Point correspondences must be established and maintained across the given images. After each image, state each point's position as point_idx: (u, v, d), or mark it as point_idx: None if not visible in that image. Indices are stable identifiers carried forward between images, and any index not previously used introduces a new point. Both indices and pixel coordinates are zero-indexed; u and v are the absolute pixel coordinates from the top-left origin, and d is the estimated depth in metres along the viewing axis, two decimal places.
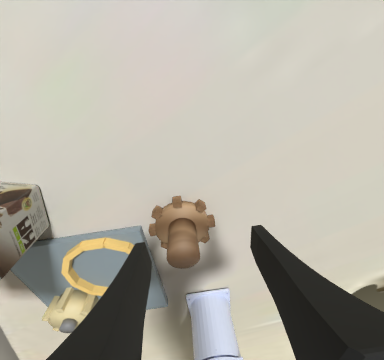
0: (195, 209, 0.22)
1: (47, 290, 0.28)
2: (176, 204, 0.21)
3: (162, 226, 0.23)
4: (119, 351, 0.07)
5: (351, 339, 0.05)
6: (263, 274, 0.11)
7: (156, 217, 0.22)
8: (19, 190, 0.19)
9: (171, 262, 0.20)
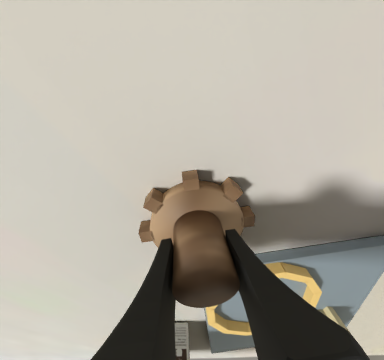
0: (154, 212, 0.12)
1: None
2: (145, 237, 0.13)
3: None
4: (163, 344, 0.07)
5: (293, 348, 0.05)
6: None
7: None
8: None
9: (216, 302, 0.10)
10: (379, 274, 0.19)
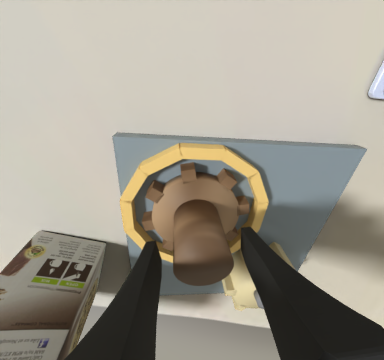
0: (156, 202, 0.13)
1: None
2: (147, 226, 0.14)
3: None
4: (137, 348, 0.07)
5: (328, 343, 0.05)
6: (252, 276, 0.11)
7: (172, 246, 0.16)
8: None
9: (213, 280, 0.11)
10: (335, 200, 0.16)
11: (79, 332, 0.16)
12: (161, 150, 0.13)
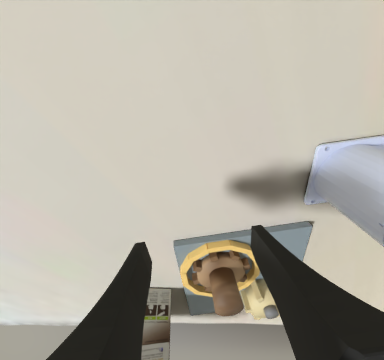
0: (199, 272, 0.25)
1: None
2: (195, 282, 0.26)
3: None
4: (119, 351, 0.07)
5: (351, 339, 0.05)
6: (263, 274, 0.11)
7: (210, 289, 0.28)
8: None
9: (235, 313, 0.23)
10: (303, 250, 0.27)
11: None
12: (197, 247, 0.24)
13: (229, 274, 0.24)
